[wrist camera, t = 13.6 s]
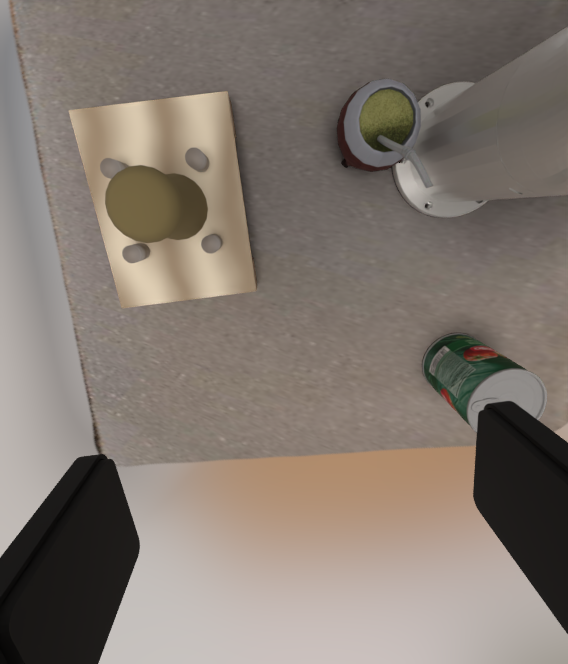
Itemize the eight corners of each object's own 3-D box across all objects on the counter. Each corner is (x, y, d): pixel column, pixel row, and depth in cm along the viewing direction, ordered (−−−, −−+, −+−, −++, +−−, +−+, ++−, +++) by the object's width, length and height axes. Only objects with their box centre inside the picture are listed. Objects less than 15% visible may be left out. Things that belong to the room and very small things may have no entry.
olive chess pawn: (185, 252, 36) (152, 268, 25) (131, 213, 34) (73, 212, 24) (220, 202, 34) (200, 196, 24) (166, 158, 33) (120, 133, 23)
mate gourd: (358, 83, 35) (421, -4, 21) (416, 137, 37) (509, 90, 23) (312, 150, 37) (341, 111, 23) (369, 199, 39) (430, 190, 25)
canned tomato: (487, 331, 44) (555, 367, 34) (478, 388, 47) (539, 438, 36) (424, 334, 44) (473, 371, 34) (418, 391, 47) (463, 443, 36)
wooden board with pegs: (231, 104, 35) (223, 78, 29) (257, 284, 41) (255, 297, 34) (89, 121, 35) (49, 100, 29) (135, 299, 41) (109, 316, 34)
